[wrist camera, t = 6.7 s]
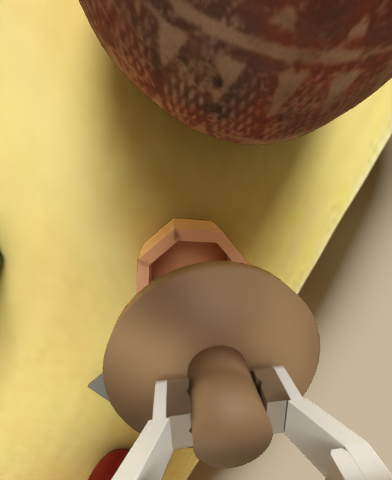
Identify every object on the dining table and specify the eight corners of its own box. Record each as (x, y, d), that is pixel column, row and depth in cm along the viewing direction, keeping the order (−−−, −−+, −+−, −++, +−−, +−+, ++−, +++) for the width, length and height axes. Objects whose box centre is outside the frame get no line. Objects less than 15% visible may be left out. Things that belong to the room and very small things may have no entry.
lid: (195, 454, 14) (205, 562, 10) (61, 352, 10) (-3, 449, 7) (339, 356, 13) (412, 433, 9) (238, 214, 10) (281, 235, 6)
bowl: (184, 317, 26) (187, 348, 21) (123, 260, 23) (111, 281, 18) (248, 265, 25) (267, 286, 20) (194, 199, 22) (201, 205, 17)
